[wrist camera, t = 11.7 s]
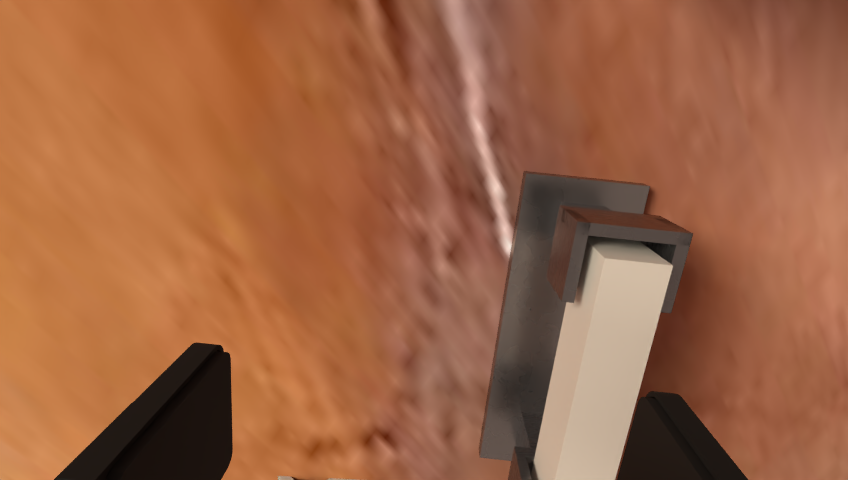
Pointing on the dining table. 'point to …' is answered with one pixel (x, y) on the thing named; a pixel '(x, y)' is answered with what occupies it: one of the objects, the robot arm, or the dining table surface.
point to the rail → (600, 360)
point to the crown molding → (289, 479)
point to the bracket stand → (557, 294)
